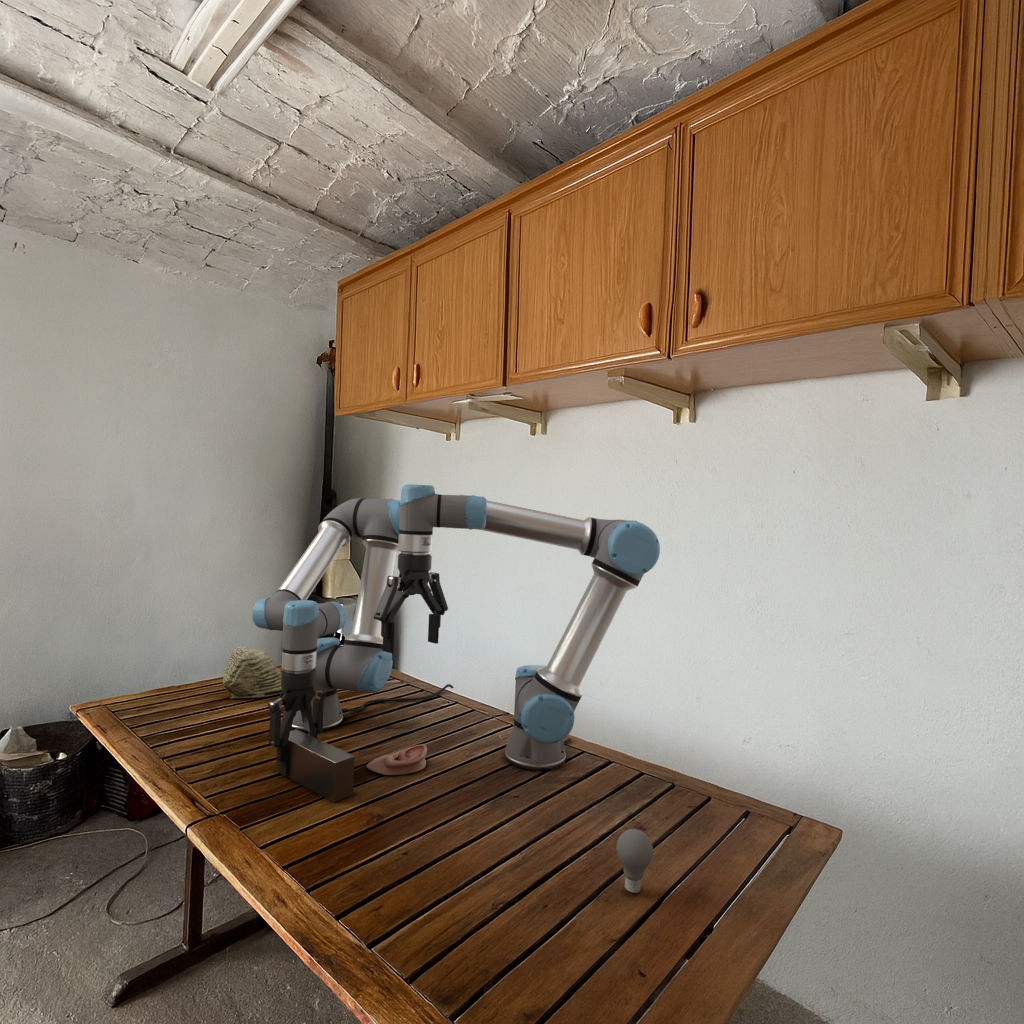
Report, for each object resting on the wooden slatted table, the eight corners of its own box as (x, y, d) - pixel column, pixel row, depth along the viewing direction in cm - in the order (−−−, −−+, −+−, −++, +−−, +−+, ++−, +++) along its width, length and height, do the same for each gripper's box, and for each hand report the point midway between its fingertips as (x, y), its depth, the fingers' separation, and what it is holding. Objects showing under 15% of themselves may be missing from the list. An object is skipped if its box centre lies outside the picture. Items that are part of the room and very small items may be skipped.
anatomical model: (361, 754, 146) (381, 736, 157) (360, 771, 146) (380, 752, 157) (415, 762, 143) (432, 743, 155) (415, 779, 143) (431, 759, 155)
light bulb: (610, 879, 108) (613, 822, 108) (644, 879, 109) (647, 822, 109) (619, 902, 102) (622, 840, 102) (655, 901, 103) (658, 840, 103)
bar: (275, 770, 145) (277, 734, 145) (295, 764, 149) (296, 729, 149) (333, 802, 131) (335, 762, 131) (353, 794, 135) (354, 755, 135)
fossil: (218, 695, 195) (220, 647, 195) (278, 685, 208) (279, 640, 207) (228, 703, 189) (230, 653, 188) (289, 692, 201) (290, 645, 201)
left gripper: (271, 680, 135) (267, 788, 135) (342, 665, 149) (338, 763, 149) (253, 673, 140) (249, 777, 140) (323, 659, 154) (319, 754, 154)
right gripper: (382, 556, 130) (378, 659, 131) (465, 552, 150) (461, 641, 150) (359, 553, 135) (355, 652, 135) (442, 549, 154) (438, 636, 155)
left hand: (295, 770), depth 145 cm, fingers closed on bar, 5 cm apart
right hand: (411, 647), depth 143 cm, fingers open, 13 cm apart
